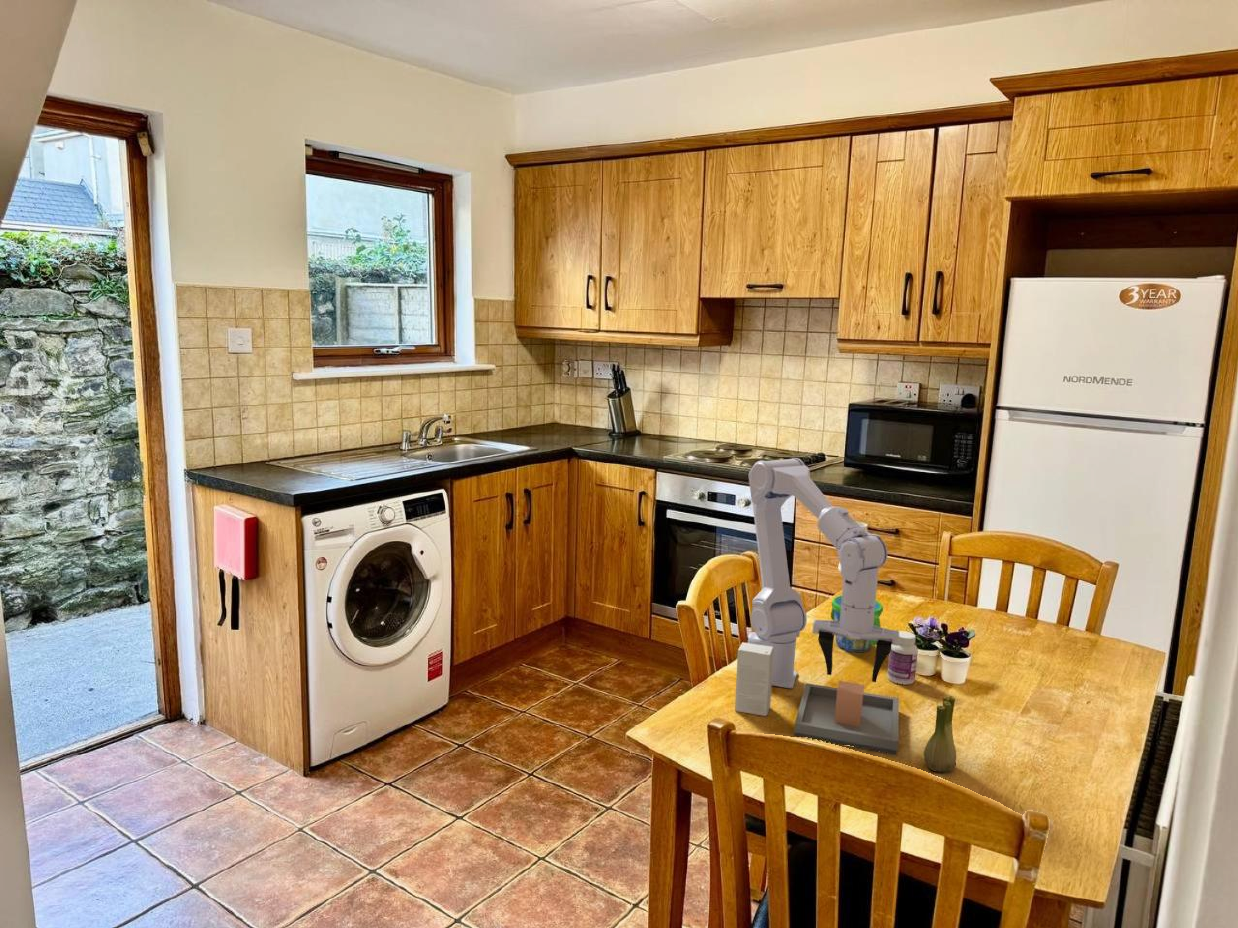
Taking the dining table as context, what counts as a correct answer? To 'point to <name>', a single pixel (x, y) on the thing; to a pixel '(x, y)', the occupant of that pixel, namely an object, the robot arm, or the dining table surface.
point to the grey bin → (871, 735)
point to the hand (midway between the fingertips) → (851, 676)
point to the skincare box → (754, 679)
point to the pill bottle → (903, 659)
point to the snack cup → (850, 643)
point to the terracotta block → (849, 703)
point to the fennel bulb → (942, 740)
